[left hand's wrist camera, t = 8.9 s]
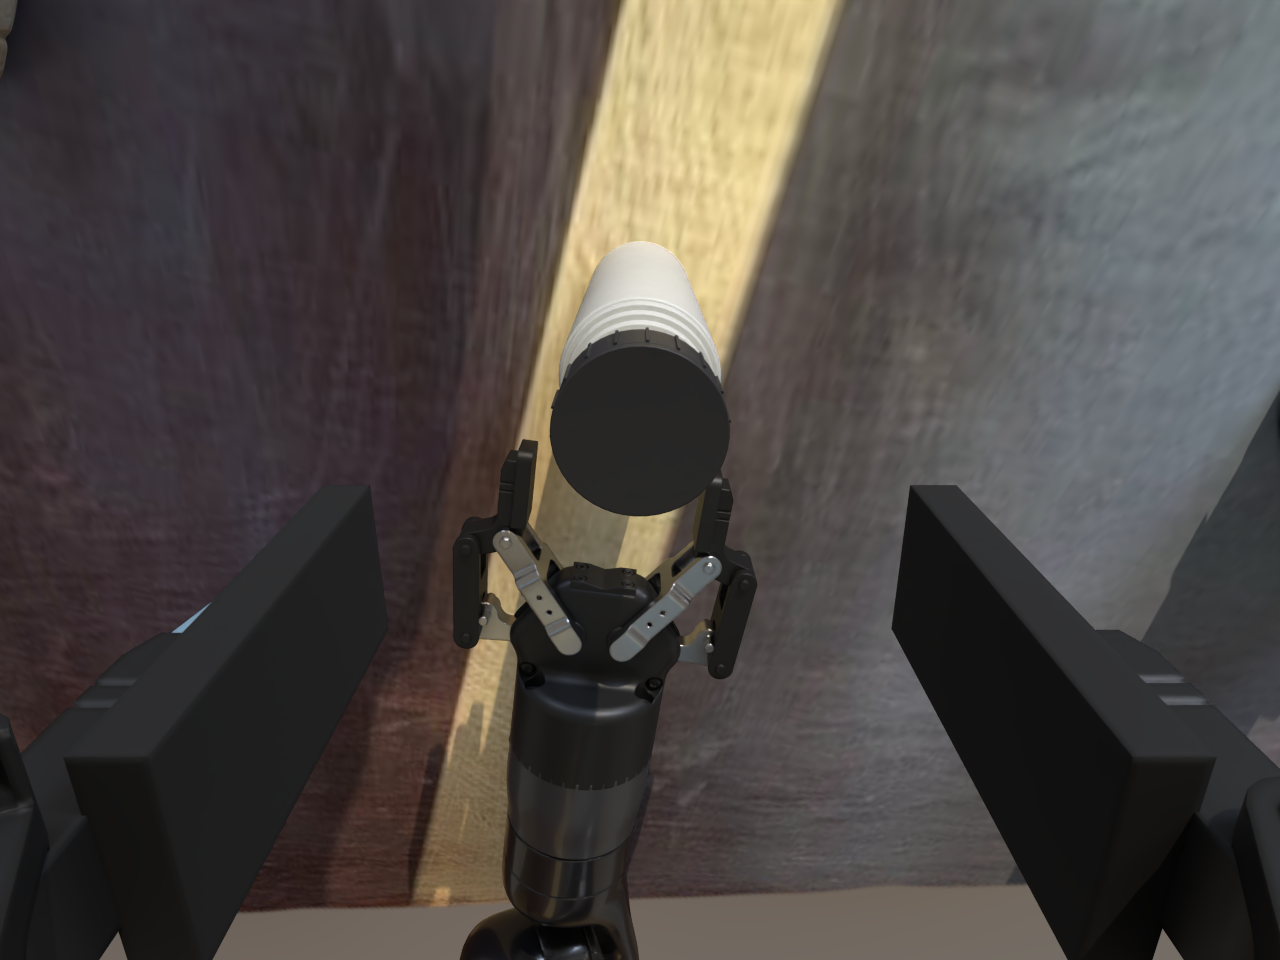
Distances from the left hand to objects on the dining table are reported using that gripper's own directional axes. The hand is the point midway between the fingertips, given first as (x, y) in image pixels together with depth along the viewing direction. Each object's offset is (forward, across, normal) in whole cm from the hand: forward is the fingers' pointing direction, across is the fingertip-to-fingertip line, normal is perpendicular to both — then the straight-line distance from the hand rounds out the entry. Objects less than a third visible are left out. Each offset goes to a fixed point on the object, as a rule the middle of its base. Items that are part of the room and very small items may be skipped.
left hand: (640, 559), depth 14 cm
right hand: (+23, +1, +6) cm, 24 cm away
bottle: (+29, 0, 0) cm, 29 cm away
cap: (+7, 0, 0) cm, 7 cm away
